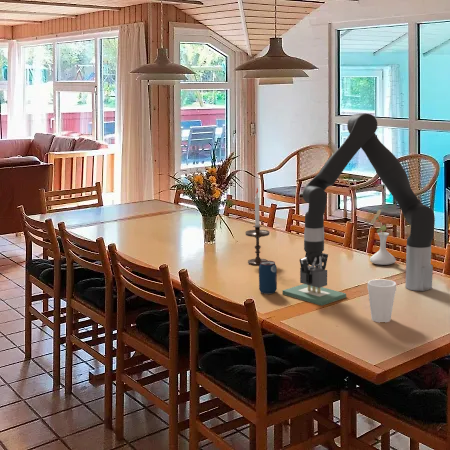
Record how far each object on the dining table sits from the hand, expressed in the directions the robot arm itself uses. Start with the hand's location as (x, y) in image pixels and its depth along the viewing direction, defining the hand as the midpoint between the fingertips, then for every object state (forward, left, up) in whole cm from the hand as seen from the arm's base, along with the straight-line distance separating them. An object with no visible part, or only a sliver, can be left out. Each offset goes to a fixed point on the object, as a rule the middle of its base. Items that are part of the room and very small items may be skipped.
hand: (313, 281), depth 259 cm
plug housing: (0, 0, -1) cm, 1 cm away
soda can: (+16, +9, -6) cm, 19 cm away
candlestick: (+51, -19, -6) cm, 55 cm away
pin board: (0, 0, -5) cm, 5 cm away
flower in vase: (+10, -56, -6) cm, 57 cm away
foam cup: (-34, +4, -6) cm, 35 cm away
